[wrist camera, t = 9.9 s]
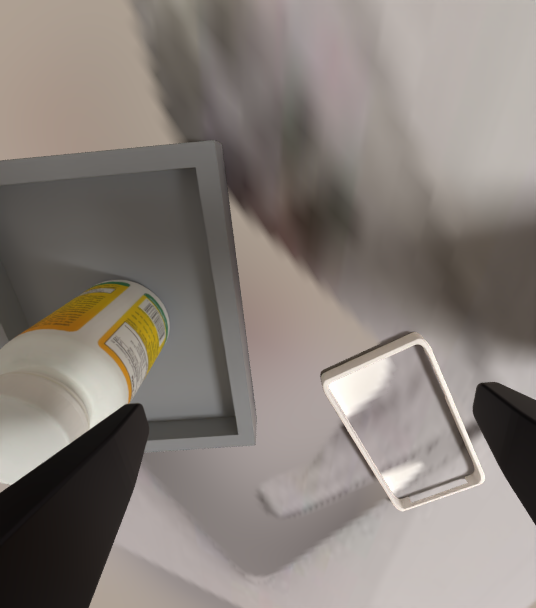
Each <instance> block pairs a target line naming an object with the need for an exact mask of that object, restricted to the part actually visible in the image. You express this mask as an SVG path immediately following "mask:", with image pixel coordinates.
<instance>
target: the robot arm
mask: <svg viewBox="0 0 536 608" xmlns="http://www.w3.org/2000/svg"><path fill="white" fill-rule="evenodd" d="M473 415H474V417H475V420H476V421H477V423H478V425H479V427H480V429H481V431H482V433H483V435H484V437H485V439H486V441H487V443H488V445H489V447H490V449H491V451H492V453H493V455H494V457H495V459H496V461H497V463H498V465H499V467H500V469H501V470H502V472H503V474H504V476H505V477H506V479H507V481H508V482H509V484H510V486H511V487H512V489H513V490H514V492H515V493H516V495H517V497H518V498H519V500H520V501H521V503H522V504H523V506H524V508H525V509H526V511H527V512H528V514H529V515H530V517H531V519H532V520H533V522H534V523H535V525H536V400H534V399H532V398H530V397H528V396H526V395H523V394H521V393H519V392H517V391H515V390H513V389H510V388H508V387H506V386H504V385H502V384H500V383H497V382H486V383H480V384H478V386H477V388H476V393H475V398H474V403H473ZM148 436H149V424H148V421H147V417H146V414H145V411H144V408H143V406H142V404H140V403H129V404H125V405H123V406H122V407H121V408H119V409H118V410H116V411H115V412H114V413H112V414H111V415H109V416H108V417H106V418H105V419H104V420H102V421H101V422H99V423H98V424H97V425H95V426H94V427H92V428H91V429H90V430H88V431H87V432H85V433H84V434H83V435H81V436H80V437H78V438H77V439H76V440H74V441H73V442H71V443H70V444H68V445H67V446H66V447H64V448H63V449H61V450H60V451H59V452H57V453H56V454H54V455H53V456H52V457H50V458H49V459H47V460H46V461H44V462H43V463H42V464H40V465H39V466H37V467H36V468H35V469H33V470H32V471H30V472H29V473H28V474H26V475H25V476H23V477H22V478H21V479H19V480H18V481H16V482H15V483H13V484H12V485H11V486H9V487H8V488H6V489H5V490H4V491H2V492H1V493H0V608H89V605H90V603H91V600H92V597H93V595H94V592H95V590H96V587H97V585H98V582H99V579H100V577H101V574H102V571H103V569H104V566H105V564H106V561H107V558H108V556H109V553H110V551H111V548H112V545H113V543H114V540H115V537H116V535H117V532H118V530H119V527H120V524H121V522H122V519H123V517H124V514H125V511H126V509H127V506H128V503H129V501H130V498H131V495H132V493H133V490H134V487H135V483H136V480H137V476H138V473H139V469H140V465H141V462H142V458H143V454H144V450H145V447H146V443H147V439H148Z"/></svg>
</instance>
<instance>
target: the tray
mask: <svg viewBox="0 0 536 608" xmlns="http://www.w3.org/2000/svg"><path fill="white" fill-rule="evenodd" d="M109 280H128V281H131V282H135V283H138V284H140V285H142V286H144V287H146V288H147V289H149V290H150V291H152V292H153V293H154V294H155V295H156V296H157V297H158V298H159V299H160V301H161V302H162V303H163V305H164V307H165V308H166V311H167V313H168V317H169V322H170V330H169V335H168V338H167V341H166V343H165V345H164V347H163V348H162V350H161V352H160V353H159V355H158V357H157V358H156V360H155V362H154V364H153V365H152V367H151V369H150V370H149V372H148V374H147V376H146V377H145V379H144V380H143V382H142V384H141V385H140V387H139V389H138V390H137V392H136V394H135V396H134V397H133V399H132V401H131V402H130V403H140V404H142V406H143V408H144V411H145V414H146V417H147V421H148V424H149V436H148V439H147V443H146V447H145V450H144V452H158V451H174V450H190V449H205V448H221V447H237V446H252V445H256V444H255V443H256V422H257V417H256V409H255V402H254V393H253V386H252V377H251V370H250V362H249V354H248V346H247V338H246V330H245V322H244V314H243V308H242V299H241V291H240V283H239V276H238V268H237V260H236V252H235V244H234V236H233V228H232V221H231V212H230V205H229V197H228V189H227V181H226V173H225V165H224V157H223V150H222V144H221V143H219V142H217V141H215V140H210V141H200V142H189V143H179V144H169V145H159V146H148V147H137V148H127V149H117V150H106V151H96V152H85V153H76V154H64V155H54V156H44V157H33V158H23V159H13V160H2V161H0V349H1V348H2V347H3V346H4V345H5V344H7V343H8V342H9V341H11V340H12V339H13V338H15V337H16V336H18V335H19V334H21V333H22V332H24V331H25V330H27V329H29V328H30V327H32V326H33V325H35V324H36V323H38V322H39V321H41V320H42V319H44V318H45V317H47V316H48V315H50V314H52V313H53V312H54V311H56V310H58V309H59V308H61V307H62V306H64V305H65V304H67V303H68V302H70V301H71V300H73V299H74V298H76V297H77V296H79V295H80V294H82V293H83V292H85V291H86V290H88V289H89V288H91V287H92V286H94V285H96V284H98V283H101V282H104V281H109Z"/></svg>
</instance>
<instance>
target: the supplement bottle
mask: <svg viewBox="0 0 536 608" xmlns="http://www.w3.org/2000/svg"><path fill="white" fill-rule="evenodd" d="M169 330H170V322H169V317H168V313H167V311H166V308H165V307H164V305H163V303H162V302H161V301H160V299H159V298H158V297H157V296H156V295H155V294H154V293H153V292H152V291H150V290H149V289H147V288H146V287H144V286H142V285H140V284H138V283H135V282H131V281H128V280H109V281H104V282H101V283H98V284H96V285H94V286H92V287H91V288H89V289H88V290H86V291H85V292H83V293H82V294H80V295H79V296H77V297H76V298H74V299H73V300H71V301H70V302H68V303H67V304H65V305H64V306H62V307H61V308H59V309H58V310H56V311H54V312H53V313H52V314H50V315H48V316H47V317H45V318H44V319H42V320H41V321H39V322H38V323H36V324H35V325H33V326H32V327H30V328H29V329H27V330H25V331H24V332H22V333H21V334H19V335H18V336H16V337H15V338H13V339H12V340H11V341H9V342H8V343H7V344H5V345H4V346H3V347H2V348H1V349H0V483H3V484H9V485H12V484H13V483H15V482H16V481H18V480H19V479H21V478H22V477H23V476H25V475H26V474H28V473H29V472H30V471H32V470H33V469H35V468H36V467H37V466H39V465H40V464H42V463H43V462H44V461H46V460H47V459H49V458H50V457H52V456H53V455H54V454H56V453H57V452H59V451H60V450H61V449H63V448H64V447H66V446H67V445H68V444H70V443H71V442H73V441H74V440H76V439H77V438H78V437H80V436H81V435H83V434H84V433H85V432H87V431H88V430H90V429H91V428H92V427H94V426H95V425H97V424H98V423H99V422H101V421H102V420H104V419H105V418H106V417H108V416H109V415H111V414H112V413H114V412H115V411H116V410H118V409H119V408H121V407H122V406H123V405H125V404H129V403H130V402H131V401H132V399H133V397H134V396H135V394H136V392H137V390H138V389H139V387H140V385H141V384H142V382H143V380H144V379H145V377H146V376H147V374H148V372H149V370H150V369H151V367H152V365H153V364H154V362H155V360H156V358H157V357H158V355H159V353H160V352H161V350H162V348H163V347H164V345H165V343H166V341H167V338H168V335H169Z"/></svg>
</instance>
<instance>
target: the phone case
mask: <svg viewBox="0 0 536 608" xmlns="http://www.w3.org/2000/svg"><path fill="white" fill-rule="evenodd" d="M416 344H419V345H422V347H423V349H424V351H425V353H426V354H427V355H428V357H429V359H430V362H431V364H432V366H433V368H434V371H435V373H436V375H437V378H438V380H439V382H440V385H441V387H442V389H443V392H444V394H445V396H444V397H445V400H446V402H447V404H448V406H449V409H450V411H451V413H452V416H453V418H454V420H455V423H456V425H457V427H458V429H459V432H460V434H461V436H462V439H463V441H464V443H465V446H466V448H467V450H468V452H469V455H470V457H471V459H472V462H473V464H474V472H473V474H471V475H468V476H465V479H466V481H467V482H468V483H467V484H464V485H461V486H458V487H455V488H452V489H450V490H447V491H444V492H441V493H438V494H435V495H432V496H430V497H427V498H424V499H421V500H418V501H415V502H412V503H411V500H410V498H409V497H406V498H403V499H399V498H397V497H395V496H394V495H393V493H394V492H395V491H397V490H398V489H400V488H401V487H402V486H403V485H404V484H405V483H406V482H407V481H409V480H410V479H411V478H412V477H413V475H415V474H416V473H417V472H418V471H419V469H420V468H421V466H422V464H420V463H416V464H412V465H409V466H405V467H401V468H398V469H395V470H393V471H390V472H388V473H385V474H383V475H381V474H380V472H379V470H378V469H377V467H376V465H375V464H374V462H373V460H372V459H371V457H370V455H369V454H368V452H367V450H366V449H365V447H364V445H363V444H362V442H361V440H360V439H359V437H358V436H357V434H356V432H355V431H354V429H353V427H352V426H351V424H350V422H349V421H348V419H347V417H348V416H349V415H351V414H352V413H354V412H355V411H356V410H357V409H358V408H359V407H360V406H361V405H363V404H364V403H365V402H367V401H368V400H370V399H371V398H372V397H374V396H375V394H376V392H377V391H378V390H379V389H380V388H381V387H382V386H383V384H384V381H385V380H386V378H387V376H388V369H389V361H388V358H387V357H389V356H391V355H393V354H396V353H398V352H400V351H402V350H405V349H407V348H409V347H411V346H414V345H416ZM320 377H321V382H322V386H323V390H324V392H325V395H326V396H327V398H328V400H329V401H330V403H331V404H332V406H333V408H334V409H335V411H336V413H337V414H338V416H339V417H340V419H341V421H342V422H343V424H344V426H345V427H346V429H347V430H348V432H349V434H350V435H351V437H352V439H353V440H354V442H355V443H356V445H357V447H358V448H359V450H360V452H361V453H362V455H363V456H364V458H365V460H366V461H367V463H368V465H369V466H370V468H371V469H372V471H373V473H374V474H375V476H376V478H377V479H378V481H379V482H380V484H381V486H382V487H383V489H384V490H385V492H386V494H387V495H388V497H389V499H390V500H391V502H392V504H393V505H394V507H395V508H396V509H398V510H400V511H406V510H409V509H411V508H414V507H417V506H420V505H423V504H426V503H429V502H432V501H434V500H437V499H440V498H443V497H446V496H449V495H452V494H455V493H458V492H460V491H463V490H466V489H469V488H472V487H475V486H478V485H481V484H482V483H483V482H484V480H485V475H484V472H483V470H482V467H481V465H480V463H479V460H478V458H477V455H476V453H475V451H474V448H473V446H472V444H471V441H470V439H469V437H468V434H467V432H466V429H465V427H464V425H463V422H462V420H461V418H460V415H459V413H458V411H457V408H456V406H455V403H454V401H453V399H452V396H451V394H450V392H449V389H448V387H447V385H446V382H445V380H444V377H443V375H442V373H441V370H440V368H439V366H438V363H437V361H436V358H435V356H434V354H433V351H432V349H431V347H430V345H429V344H428V343H427V341H426V340H425V339H424V338H423V337H422V336H421V335H420V334H418V333H416V332H413V333H410V334H408V335H406V336H404V337H402V338H399V339H397V340H395V341H393V342H391V343H388V344H386V345H384V346H382V347H381V346H380V344H378V345H376V346H374V347H372V348H369V349H367V350H365V351H363V352H361V353H359V354H356V355H354V356H352V357H350V358H348V359H345V360H343V361H341V362H339V363H337V364H335V365H332V366H330V367H328V368H326V369H324V370H322V371H321V374H320Z"/></svg>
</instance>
